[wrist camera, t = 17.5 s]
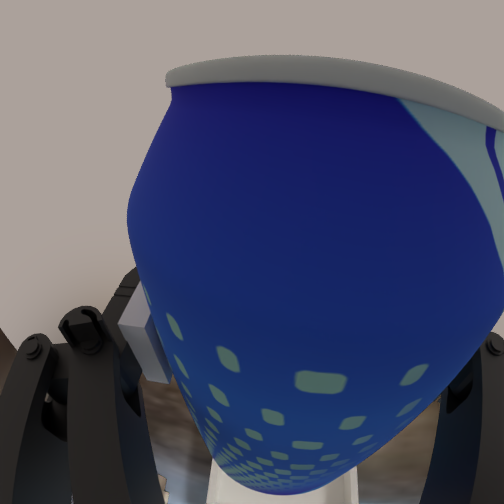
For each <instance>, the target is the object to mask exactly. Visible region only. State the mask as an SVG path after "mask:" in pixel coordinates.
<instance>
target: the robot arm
mask: <svg viewBox="0 0 504 504" xmlns="http://www.w3.org/2000/svg"><path fill="white" fill-rule="evenodd" d="M58 328H59V330H60V331H61V333H62V334H63V336H64V338H65V339H66V341H67V342H68V343H62V344H52V342H51V341H50V340H49V338H48V337H47V336H46V335H44V334H41V333H40V334H33V335H31V336H29V337H28V338H27V339H26V340H25V341H23V343H22V344H21V346H20V347H19V349H18V352H17V354H16V356H15V359H14V361H13V363H12V366H11V368H10V371H9V373H8V376H7V378H6V381H5V384H4V386H3V389H2V392H1V395H0V504H71V495H73V501H74V504H165V501H164V497H163V494H162V490H161V486H160V482H159V478H158V474H157V470H156V466H155V461H154V457H153V452H152V447H151V442H150V437H149V432H148V426H147V421H146V414H145V408H144V401H143V394H142V388H141V386H140V383H139V382H138V381H139V379H140V376H141V373H142V372H143V374H144V376H145V377H146V379H147V380H148V381H153V382H159V383H165V384H170V381H171V377H172V374H173V372H172V370H171V367H170V365H169V362H168V359H167V357H166V354H165V352H164V349H163V346H162V344H161V341H160V338H159V335H158V333H157V330H156V327H155V324H154V321H153V318H152V315H151V312H150V309H149V306H148V303H147V300H146V297H145V294H144V290H143V287H142V284H141V280H140V277H139V274H138V270H137V267H135V268H134V269H132V270H131V271H130V272H129V273H128V274H126V275H125V277H124V278H123V280H122V282H121V283H120V285H119V288H117V290H116V292H115V293H114V296H113V297H112V298H111V300H110V302H109V303H108V305H107V307H106V309H105V310H104V312H103V314H102V315H101V313H100V312H99V311H98V309H96V308H94V307H92V306H81V307H78V308H75V309H73V310H72V311H70V312H68V313H67V314H66V315H65V316H64V317H63V318H62V320H61V321H60V324H59V326H58ZM46 394H48V395H49V396H48V398H47V400H46V401H45V398H46ZM440 395H441V398H440V399H439V400H438V402H439V403H440V411H439V419H438V426H437V432H436V438H435V444H434V449H433V454H432V459H431V463H430V467H429V471H428V475H427V479H426V483H425V487H424V490H423V494H422V497H421V500H420V503H419V504H504V340H503V338H502V337H501V336H499V335H498V334H496V333H494V332H490V333H489V334H488V336H487V337H486V339H485V340H484V341H483V343H482V344H481V345H480V347H479V348H478V349H477V351H476V352H475V353H474V355H473V356H472V357H471V359H470V360H469V361H468V362H467V364H466V365H465V366H464V367H463V368H462V370H461V371H460V372H459V373H458V374H457V376H456V377H455V378H454V379H453V380H452V381H451V382H450V384H449V385H448V386H447V387H446V388H445V389H444V390H443V391H442V392H441V393H440V394H439V395H438V396H437V397H436V399H437V398H438V397H439V396H440ZM436 399H435V400H436ZM435 400H434V401H435Z"/></svg>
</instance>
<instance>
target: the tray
mask: <svg viewBox="0 0 504 504" xmlns="http://www.w3.org/2000/svg"><path fill="white" fill-rule="evenodd" d="M206 504H359V502H358V480H357V465H356V466H355V467H354V468H352V469H351V470H349V471H348V472H346V473H345V474H343V475H341V476H340V477H338V478H337V479H335V480H333V481H332V482H330V483H329V484H327V485H325V486H323V487H321V488H319V489H316V490H313V491H310V492H307V493H303V494H297V495H285V496H284V495H271V494H265V493H261V492H257V491H254V490H251V489H249V488H247V487H245V486H243V485H241V484H239V483H238V482H236V481H234V480H233V479H232V478H230V477H229V476H228V475H227V474H226V473H225V472H224V471H223V470H222V469H221V468H220V467H219V466H218V465H217V463H216V462H215V460H214V459H212V466H211V473H210V480H209V487H208V494H207V500H206Z"/></svg>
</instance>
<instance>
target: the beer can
mask: <svg viewBox="0 0 504 504" xmlns="http://www.w3.org/2000/svg"><path fill="white" fill-rule="evenodd" d="M165 82H166V86H167V87H170V88H171V93H172V101H171V104H170V106H169V108H168V110H167V112H166V115H165V116H164V119H163V120H162V123H161V125H160V127H159V129H158V131H157V133H156V135H155V137H154V139H153V141H152V143H151V146H150V148H149V150H148V152H147V155H146V157H145V159H144V162H143V164H142V166H141V169H140V171H139V174H138V176H137V178H136V181H135V184H134V186H133V189H132V191H131V194H130V198H129V203H128V209H127V227H128V234H129V239H130V244H131V248H132V252H133V256H134V259H135V262H136V267H137V270H138V274H139V277H140V280H141V284H142V287H143V290H144V294H145V297H146V300H147V303H148V306H149V309H150V312H151V315H152V318H153V321H154V324H155V327H156V330H157V333H158V335H159V338H160V341H161V344H162V346H163V349H164V352H165V354H166V357H167V359H168V362H169V365H170V367H171V370H172V372H173V374H174V377H175V379H176V382H177V384H178V386H179V389H180V391H181V393H182V396H183V398H184V400H185V402H186V405H187V407H188V409H189V411H190V413H191V415H192V417H193V420H194V422H195V424H196V426H197V428H198V430H199V432H200V434H201V436H202V438H203V440H204V442H205V444H206V446H207V448H208V450H209V451H210V453H211V455H212V457H213V459H214V460H215V462H216V463H217V465H218V466H219V467H220V468H221V469H222V470H223V471H224V472H225V473H226V474H227V475H228V476H229V477H230V478H232V479H233V480H234V481H236V482H238V483H239V484H241V485H243V486H245V487H247V488H249V489H251V490H254V491H257V492H261V493H265V494H271V495H284V496H285V495H297V494H303V493H307V492H310V491H313V490H316V489H319V488H321V487H323V486H325V485H327V484H329V483H330V482H332V481H333V480H335V479H337V478H338V477H340V476H341V475H343V474H345V473H346V472H348V471H349V470H351V469H352V468H354V467H355V466H356V465H358V464H359V463H361V462H362V461H364V460H365V459H366V458H368V457H369V456H370V455H372V454H373V453H374V452H376V451H377V450H378V449H380V448H381V447H382V446H383V445H385V444H386V443H387V442H388V441H390V440H391V439H392V438H393V437H395V436H396V435H397V434H398V433H399V432H400V431H402V430H403V429H404V428H405V427H406V426H407V425H408V424H410V423H411V422H412V421H413V420H414V419H415V418H416V417H417V416H418V415H419V414H420V413H421V412H422V411H424V410H425V409H426V408H427V407H428V406H429V405H430V404H431V403H432V402H433V401H434V400H435V399H436V397H437V396H438V395H439V394H440V393H441V392H442V391H443V390H444V389H445V388H446V387H447V386H448V385H449V384H450V382H451V381H452V380H453V379H454V378H455V377H456V376H457V374H458V373H459V372H460V371H461V370H462V368H463V367H464V366H465V365H466V364H467V362H468V361H469V360H470V359H471V357H472V356H473V355H474V353H475V352H476V351H477V349H478V348H479V347H480V345H481V344H482V343H483V341H484V340H485V339H486V337H487V336H488V334H489V333H490V331H491V330H492V329H493V327H494V326H495V324H496V323H497V321H498V319H499V318H500V316H501V315H502V313H503V312H504V112H503V111H502V110H500V109H499V108H497V107H496V106H494V105H492V104H490V103H489V102H487V101H485V100H483V99H481V98H479V97H477V96H475V95H473V94H471V93H468V92H466V91H464V90H461V89H459V88H456V87H454V86H451V85H449V84H446V83H443V82H440V81H438V80H435V79H432V78H429V77H426V76H422V75H418V74H415V73H412V72H408V71H404V70H400V69H396V68H392V67H388V66H383V65H378V64H372V63H367V62H361V61H355V60H348V59H339V58H330V57H319V56H301V55H261V56H260V55H259V56H243V57H232V58H223V59H215V60H209V61H204V62H198V63H193V64H189V65H185V66H181V67H178V68H175V69H173V70H171V71H169V72H168V73H167V74H166V79H165Z"/></svg>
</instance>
